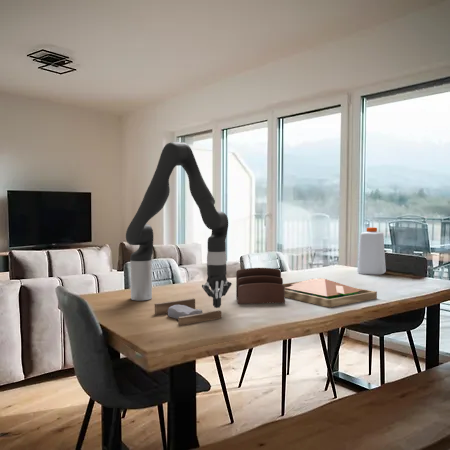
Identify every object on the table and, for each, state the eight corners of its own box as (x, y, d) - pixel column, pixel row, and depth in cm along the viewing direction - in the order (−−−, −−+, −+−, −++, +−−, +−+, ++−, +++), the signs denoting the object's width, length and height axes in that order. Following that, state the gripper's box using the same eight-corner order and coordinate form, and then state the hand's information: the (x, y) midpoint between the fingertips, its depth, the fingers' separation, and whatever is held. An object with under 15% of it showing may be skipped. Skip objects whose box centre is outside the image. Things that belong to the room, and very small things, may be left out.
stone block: (185, 317, 171) (164, 316, 164) (187, 304, 172) (166, 303, 165) (205, 323, 163) (185, 323, 156) (207, 310, 163) (187, 309, 156)
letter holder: (236, 299, 195) (236, 267, 195) (280, 298, 196) (280, 267, 196) (237, 304, 185) (237, 270, 185) (285, 303, 186) (285, 270, 186)
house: (332, 305, 184) (332, 285, 183) (278, 293, 211) (278, 276, 210) (366, 298, 197) (366, 280, 197) (311, 288, 224) (311, 272, 224)
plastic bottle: (381, 275, 261) (381, 228, 260) (355, 273, 269) (355, 227, 268) (387, 272, 274) (387, 227, 273) (362, 270, 282) (362, 227, 281)
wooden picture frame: (265, 292, 210) (265, 286, 210) (310, 285, 228) (310, 280, 228) (329, 307, 177) (329, 299, 177) (376, 298, 195) (376, 291, 195)
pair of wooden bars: (154, 314, 168) (154, 303, 168) (193, 308, 177) (193, 298, 177) (180, 325, 151) (180, 313, 151) (221, 318, 161) (221, 307, 161)
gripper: (225, 260, 178) (225, 303, 179) (197, 263, 171) (197, 308, 171) (236, 262, 172) (236, 307, 173) (207, 265, 164) (207, 311, 165)
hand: (217, 307), depth 172 cm, fingers closed
